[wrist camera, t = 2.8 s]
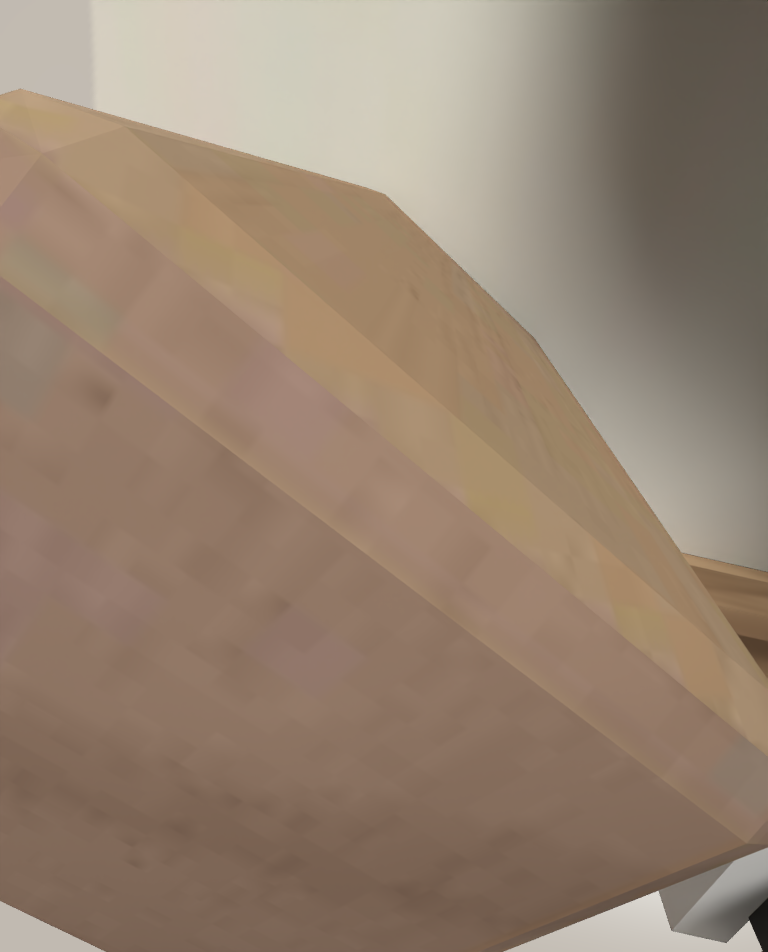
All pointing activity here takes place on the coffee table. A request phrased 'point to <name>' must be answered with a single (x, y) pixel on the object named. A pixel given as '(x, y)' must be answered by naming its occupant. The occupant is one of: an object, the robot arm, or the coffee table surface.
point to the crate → (739, 601)
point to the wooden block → (322, 581)
